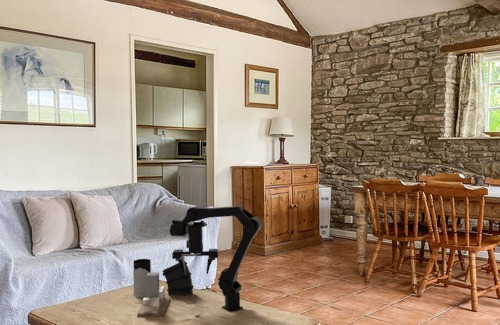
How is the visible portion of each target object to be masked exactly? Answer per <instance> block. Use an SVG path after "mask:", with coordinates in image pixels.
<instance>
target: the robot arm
mask: <svg viewBox="0 0 500 325" xmlns="http://www.w3.org/2000/svg"><path fill="white" fill-rule="evenodd" d="M222 217H223V218H224V217H235V218H236V219H237V220H238V221H239V223H240V224H241V225H242V226H243V230H242V237H241V239H240V242H239V244H238V247H237V248H236V251H235V252H234V255H233V257H232V259H231V261H230V264H229V266H228V267H225V268H224V269H223V270H221V272H220V276H219V278H218V279H217V281H218V282H217V285H218V287H219V289H220V290H221V292H222V295H223V296H224V305H222V306H221V309H224V310H226V311H228V312H234V311H235V312H236V311H239V310H242V309H244V306H242V305H241V300H240V299H241V297H240V296H241V295H240V291H241V290H242V287H243V285H242V284H241V283H240V282H239V281H238V276H239V270H240V268H241V266H242V263H243V261H244V260H245V257H246V255H247V252H248V250H249V248H250V246H251V243H252V241H253V240H254V239H255V237H256V236H257V234H258V233H259V232H260V230H261V229H262V228H263V222H262V219H261V218H260V217H259V216H255V215H254V214H252V213H251V212H250V211H248V210H247V209H246V208H244V207H243V206H242V205H235V206H234V205H233V206H223V207H222V206H220V207H219V206H218V207H208V206H202V205H196V206H192V207H189V208H188V209H187V210H186V214H185V217H184V218H183V219H172V220H171V224H170V228H169V233H170V236H171V237H186V236H187V235H188V239H187V240H186V241H185V242H186V243H185V244H186V245H185V247H186V249H188V251H184V249H180V248H179V249H174V250H173V252H172V253H171V255H172V260H175V261H176V262H178V263H179V264H180V266H181V268H182V270H183V273H184V275H185V263H184V260H185V257H206V256H207V257H208V258H207V262H206V263H207V264H206V275H208V274H209V271H210V268H211V264H212V262H213V261H215V260H216V259H218V258H219V249H218V248H208V250H206V251H204V242H203V228H205V227H206V226H208V224H207V223H206V222H205V221H204V220H205V219H208V218H222ZM191 222H192V223H191Z"/></svg>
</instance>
